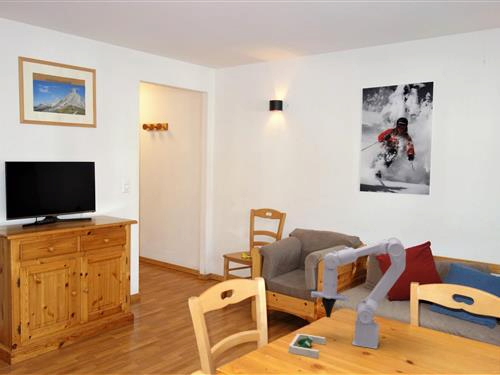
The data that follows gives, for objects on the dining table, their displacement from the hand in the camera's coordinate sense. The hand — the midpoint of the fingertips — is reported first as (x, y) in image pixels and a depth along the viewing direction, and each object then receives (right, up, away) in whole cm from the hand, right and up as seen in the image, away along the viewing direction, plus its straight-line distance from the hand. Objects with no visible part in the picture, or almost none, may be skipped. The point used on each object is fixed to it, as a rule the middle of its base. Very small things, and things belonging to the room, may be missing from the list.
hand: (328, 316), depth 182 cm
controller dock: (-9, -10, -9) cm, 16 cm away
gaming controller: (-11, -10, -9) cm, 18 cm away
